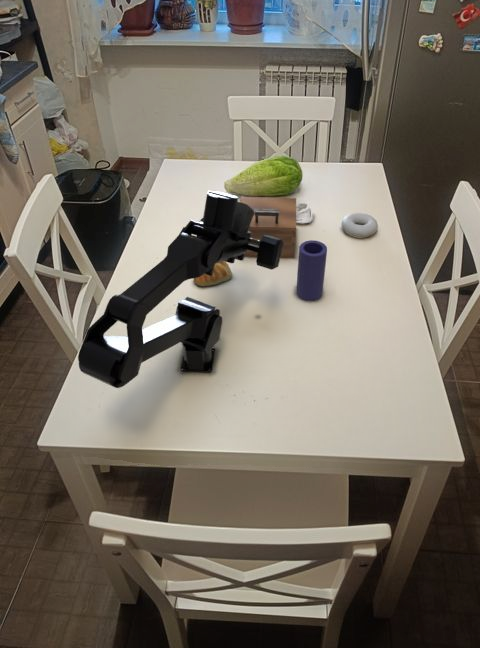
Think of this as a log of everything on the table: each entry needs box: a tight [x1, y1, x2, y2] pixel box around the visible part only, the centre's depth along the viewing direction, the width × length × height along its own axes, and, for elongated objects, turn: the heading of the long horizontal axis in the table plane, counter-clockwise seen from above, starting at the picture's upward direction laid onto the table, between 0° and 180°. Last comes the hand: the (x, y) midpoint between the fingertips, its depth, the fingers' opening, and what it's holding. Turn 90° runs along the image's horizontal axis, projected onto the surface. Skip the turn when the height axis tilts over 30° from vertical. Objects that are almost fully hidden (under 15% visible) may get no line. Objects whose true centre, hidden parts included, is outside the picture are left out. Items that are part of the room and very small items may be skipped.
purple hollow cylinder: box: [295, 239, 328, 302], centre depth 118 cm, size 6×6×13 cm
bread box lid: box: [240, 196, 297, 231], centre depth 130 cm, size 15×15×4 cm
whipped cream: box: [296, 201, 314, 224], centre depth 146 cm, size 8×7×5 cm
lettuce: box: [223, 155, 303, 197], centre depth 155 cm, size 12×24×13 cm
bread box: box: [244, 229, 297, 259], centre depth 135 cm, size 14×15×9 cm
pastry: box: [193, 261, 233, 288], centre depth 125 cm, size 9×7×4 cm
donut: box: [341, 212, 379, 239], centre depth 142 cm, size 10×4×10 cm
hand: (255, 238), depth 112 cm, fingers open, 9 cm apart
